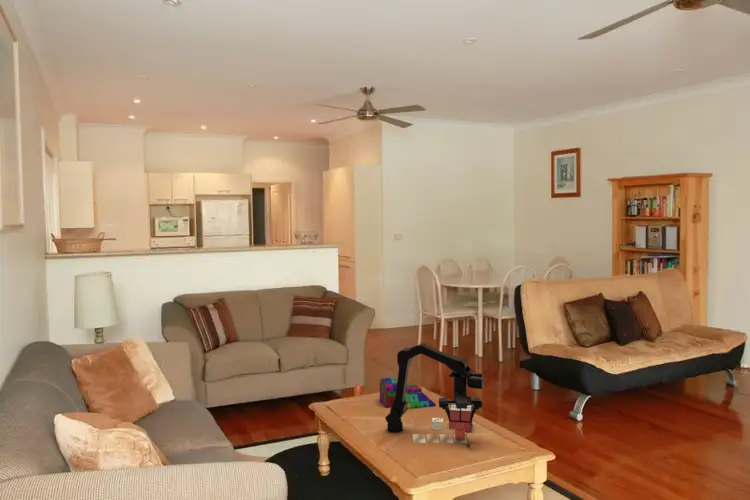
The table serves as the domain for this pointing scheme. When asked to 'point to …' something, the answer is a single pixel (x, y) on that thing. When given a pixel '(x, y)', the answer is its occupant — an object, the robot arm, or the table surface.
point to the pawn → (460, 431)
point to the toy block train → (412, 394)
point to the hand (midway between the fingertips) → (460, 421)
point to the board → (435, 438)
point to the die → (437, 424)
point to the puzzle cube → (460, 417)
